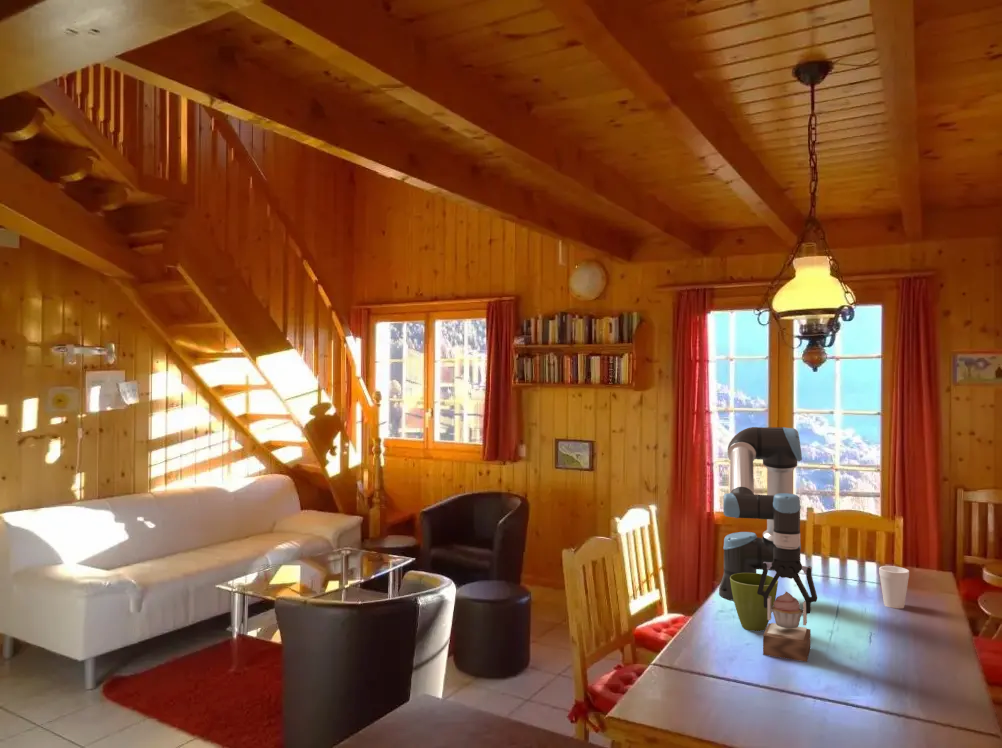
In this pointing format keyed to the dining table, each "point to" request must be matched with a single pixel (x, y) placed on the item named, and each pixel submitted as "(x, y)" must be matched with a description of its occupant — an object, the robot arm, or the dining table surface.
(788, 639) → the walnut base
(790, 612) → the cupcake
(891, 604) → the foam cup
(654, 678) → the dining table surface
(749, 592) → the flower pot
